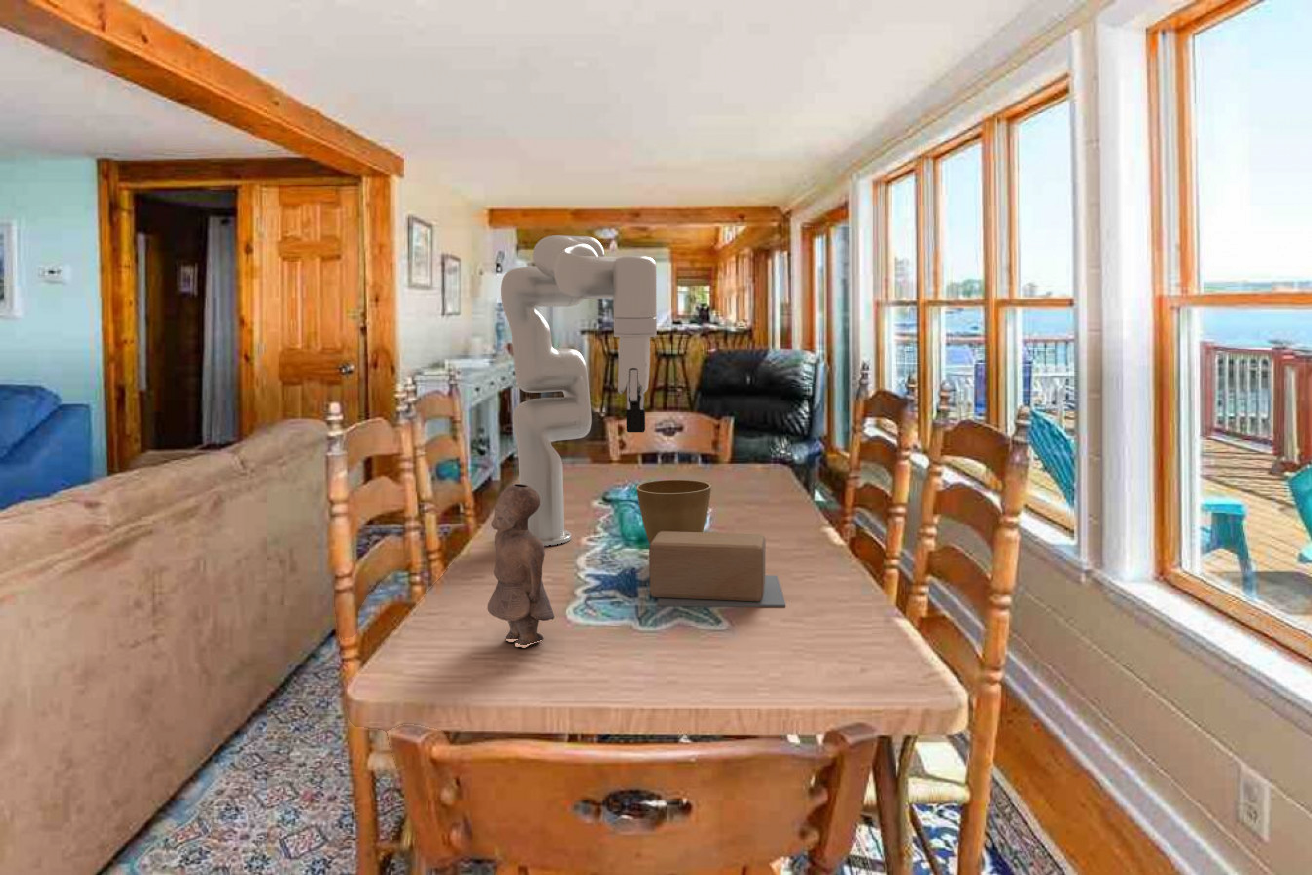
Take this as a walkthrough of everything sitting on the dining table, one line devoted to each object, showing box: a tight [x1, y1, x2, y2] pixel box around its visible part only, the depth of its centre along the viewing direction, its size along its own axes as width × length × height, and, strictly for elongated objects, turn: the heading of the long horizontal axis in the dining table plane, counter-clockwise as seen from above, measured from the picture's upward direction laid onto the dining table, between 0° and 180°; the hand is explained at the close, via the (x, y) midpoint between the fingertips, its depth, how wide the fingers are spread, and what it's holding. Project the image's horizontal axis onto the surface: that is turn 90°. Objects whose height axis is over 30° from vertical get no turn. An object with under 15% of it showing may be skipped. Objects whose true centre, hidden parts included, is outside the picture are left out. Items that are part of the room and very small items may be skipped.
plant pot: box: [635, 479, 712, 545], centre depth 181 cm, size 15×15×16 cm
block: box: [648, 531, 767, 601], centre depth 162 cm, size 10×10×20 cm
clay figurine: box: [486, 483, 555, 645], centre depth 138 cm, size 13×10×25 cm
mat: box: [657, 574, 786, 608], centre depth 164 cm, size 22×17×1 cm
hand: (635, 431), depth 161 cm, fingers closed
